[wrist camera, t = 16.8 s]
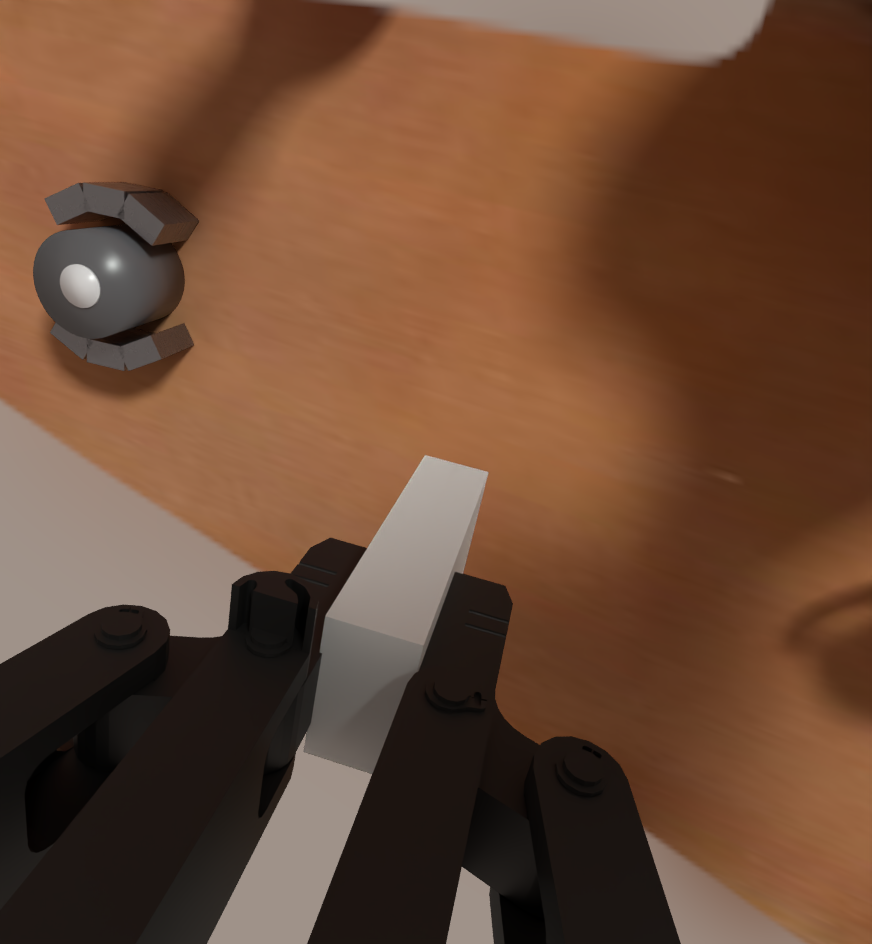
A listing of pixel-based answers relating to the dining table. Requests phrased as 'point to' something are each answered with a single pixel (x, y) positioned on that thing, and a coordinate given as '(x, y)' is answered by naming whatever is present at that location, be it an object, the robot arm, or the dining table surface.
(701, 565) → the dining table surface
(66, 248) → the cap
